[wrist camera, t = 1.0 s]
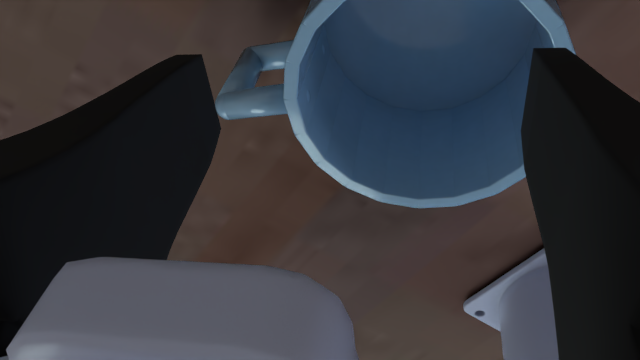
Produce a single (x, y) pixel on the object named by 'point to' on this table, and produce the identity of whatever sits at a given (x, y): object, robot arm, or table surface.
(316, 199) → the table surface
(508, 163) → the mug
